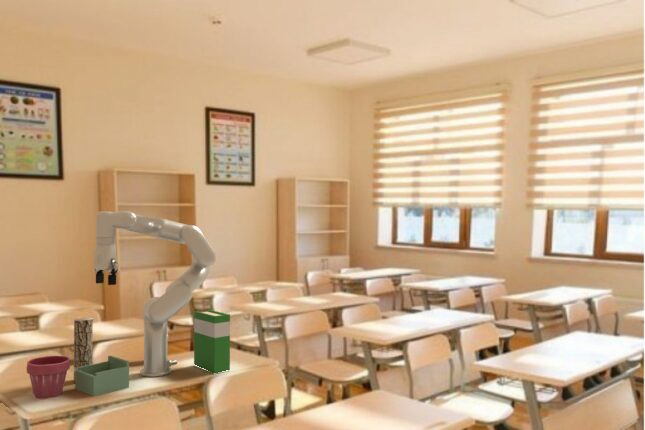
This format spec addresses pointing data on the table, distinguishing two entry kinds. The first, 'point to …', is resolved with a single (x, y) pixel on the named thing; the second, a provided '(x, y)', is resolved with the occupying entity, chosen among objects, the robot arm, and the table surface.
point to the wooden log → (82, 342)
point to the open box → (103, 376)
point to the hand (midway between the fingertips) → (105, 284)
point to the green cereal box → (212, 340)
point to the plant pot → (48, 375)
